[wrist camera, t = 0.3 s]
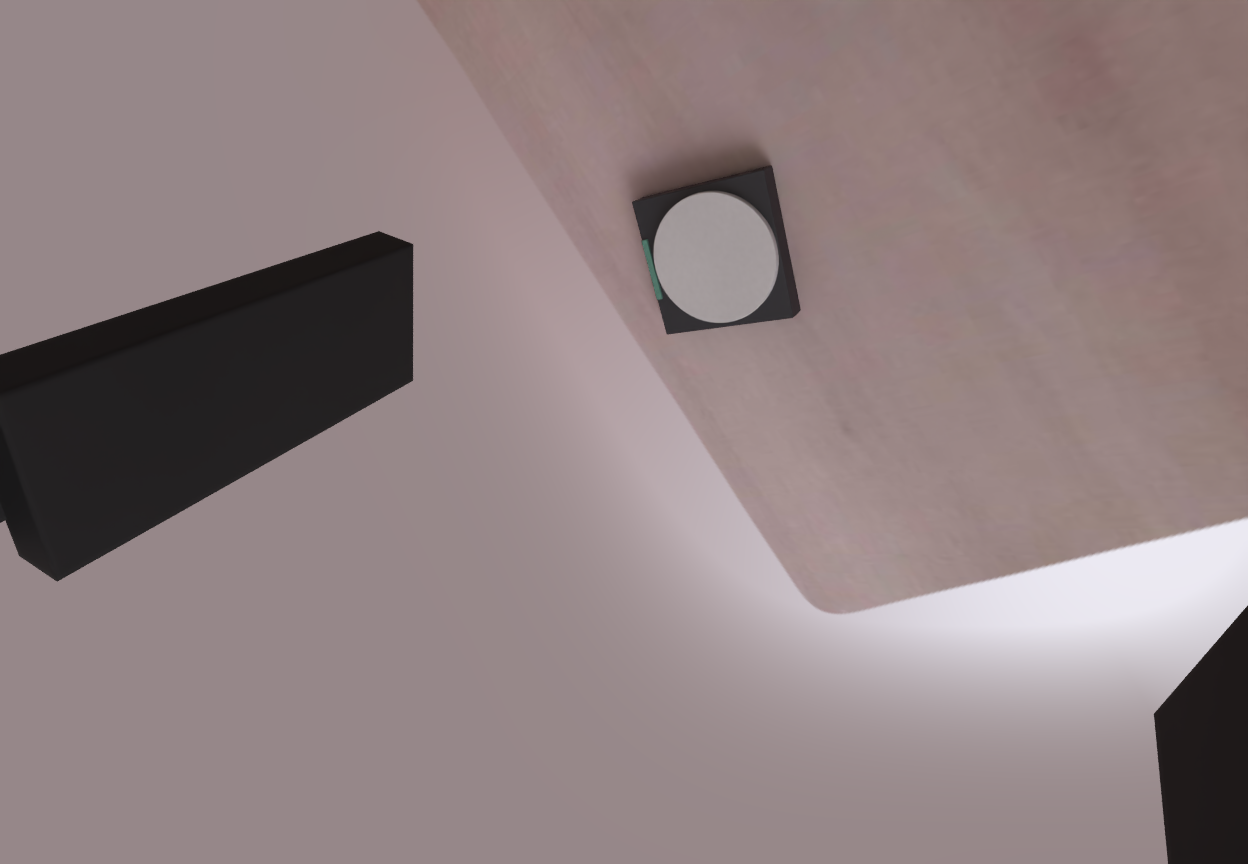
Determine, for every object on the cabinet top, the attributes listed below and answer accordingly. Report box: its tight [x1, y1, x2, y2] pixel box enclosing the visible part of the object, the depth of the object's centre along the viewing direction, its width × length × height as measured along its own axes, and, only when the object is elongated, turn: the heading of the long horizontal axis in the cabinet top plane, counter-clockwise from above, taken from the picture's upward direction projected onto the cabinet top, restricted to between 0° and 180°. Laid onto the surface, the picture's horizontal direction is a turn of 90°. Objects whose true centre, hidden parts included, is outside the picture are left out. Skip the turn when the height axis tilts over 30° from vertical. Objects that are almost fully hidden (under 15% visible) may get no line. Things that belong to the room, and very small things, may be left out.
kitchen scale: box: [632, 166, 800, 334], centre depth 49 cm, size 9×9×2 cm
